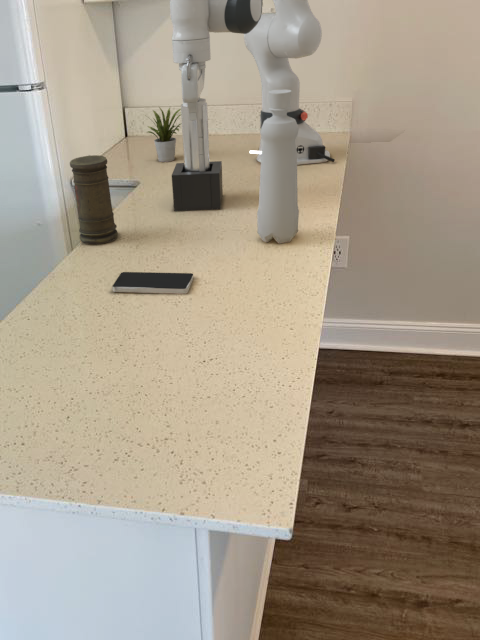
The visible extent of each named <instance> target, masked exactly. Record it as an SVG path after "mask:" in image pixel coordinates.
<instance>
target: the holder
mask: <svg viewBox="0 0 480 640" xmlns="http://www.w3.org/2000/svg"><path fill="white" fill-rule="evenodd" d="M171 187H172V201H173V203H172V204H173V211H174V212H189V211H212V210H214V211H215V210H216V211H217V210H222V209H221V208H222V202H223V196H224V195H223V193H224V191H223V162H222V160H218V161H210V171H206V172H185V167H184V162H176V164H175V166H174V168H173V172H172V173H171Z"/></svg>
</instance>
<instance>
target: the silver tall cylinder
mask: <svg viewBox="0 0 480 640" xmlns="http://www.w3.org/2000/svg"><path fill="white" fill-rule="evenodd" d="M180 109H181V110H180V114H181V115H180V116H181V123H182V124H181V129H182V130H181V132H182V148H183V149H182V150H183V163H184V167H185V172H206V171H210V162H211V161H210V140H209V139H210V137H209V114H208V111H209V110H208V103H207V99H206V98H201V97H200V98H199V99H198V101H197V119H196V120H190V119H189V110H188V104H187V103H184V102H183V101H182V104H180Z"/></svg>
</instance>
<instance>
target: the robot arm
mask: <svg viewBox="0 0 480 640" xmlns="http://www.w3.org/2000/svg"><path fill="white" fill-rule="evenodd" d="M263 1H264V0H169V15H170V21H171V25H172V35H171V46H172V47H171V49H172V61H173V63H174V64H178V70H179V71H181V77H180V78H181V98H182V103H183V102H184V103H187V104H188V110H189V119H190V120H196V119H197V101H198V99H199V98H201V95H202V92H203V90H204V88H205V78H206V77H205V76H206V66H207V65H206V62H209V61H211V57H212V56H211V36H210V33H215V34H216V33H218V34H219V33H234V34H243V41H244V45H245V47H246V49H247V51H248V52H249V53H250V55H252V57H253V59H254V62H255V65H256V67H257V71H258V74H259V78H260V85H261V110H260V114H259V130H261V127H262V125H263V123H264V121H265V120H266V119H268V118H270V117H272V116H273V114H272V112H271V110H269V108H270V103H269V91H273V90H291V91H292V92H291V100H290V107H291V109H289V110H288V112H287V116H289V117H291V118H294V119H295V120H296V122H297V125H298V127H299V131H298V135H297V137H296V139H295V144H296V150H297V166H299V165H308V164H309V165H310V164H318V163H319V164H320V163H326V162H328V161H330V162H331V163H334V162H335V159H334V158H332V157H331V153H330V151H328V150H327V149H326V146H325V145H324V142H323V138H322V135H321V134H320V133H319V132H318V131H317V130H316V129H314V128H313V127H312V126H310V124H308V123H307V122H306V120H307V119H308V117H309V116H308V115H309V114H308V112H306V111H305V110H304V109H302V108H300V91H301V90H300V88H301V82H300V79H299V77H298V75H297V74H296V73H295V72H294V71H293V69H292V68H291V65H290V61H289V59H296V60H297V59H302V58H306V57H309V56H312V55H313V54H314V53H316V51H317V50H318V48H319V47H320V44H321V41H322V35H323V32H322V31H323V30H322V25H321V22H320V21H319V19H318V18H317V17H316V16H315V15H314V13H313V11H312V9H311V7H310V4H309V0H272V2H273V6H274V9H275V10H274V11H275V12H266V13H262V12H263ZM263 143H264V142H263V140H262V138H261V137H260V139H259V147H258V150H249V154H256V155H257V156H256V162H258V163H261V153H262V148H263Z"/></svg>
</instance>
